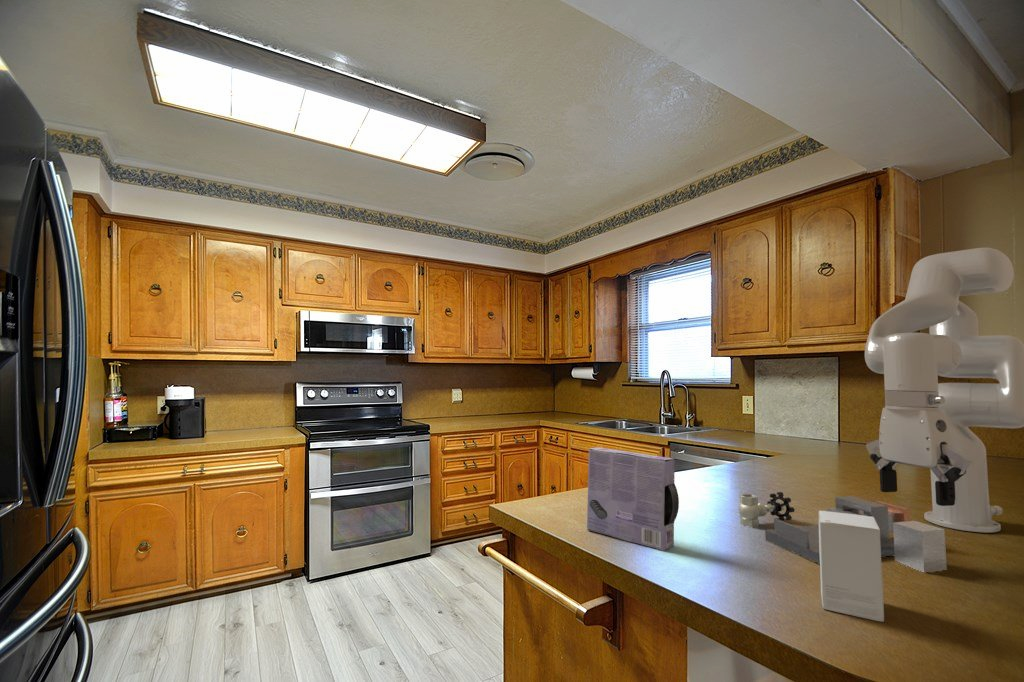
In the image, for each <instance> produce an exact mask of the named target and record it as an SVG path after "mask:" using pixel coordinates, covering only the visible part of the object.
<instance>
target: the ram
mask: <svg viewBox="0 0 1024 682" xmlns="http://www.w3.org/2000/svg"><path fill="white" fill-rule="evenodd" d="M874 502H875V503H879V504H882V505H886V506H888V522H889V534H890V533H894V532H893V523H895V522H906V521H910V511H909V510H910V509H909V508H908V507H907V508H906V507H904V506H903V507H902V506H899V505H895V504H892V503H889V502H886V501H881V500H875V501H874ZM827 511H829V512H838V513H847V514H855V515H863V516H864V511H861V510H853V511H844V510H841V509H837V508H836V507H827Z"/></svg>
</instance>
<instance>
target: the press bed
mask: <svg viewBox="0 0 1024 682" xmlns="http://www.w3.org/2000/svg"><path fill="white" fill-rule="evenodd" d="M835 508H837V509H841V510H844V511H853V510H861V511H864V516H871V517H874V518H875V520H876V522H877V524H878V527H879V529H880V544H881V557H884V556H893V555H895V551H894V538H890V533H889V522H888V506H886V505H882V504H879V503H875V501H871V500H868V499H864V498H860V497H857V496H852V495H843V496H835ZM773 527H774V528H772V529H771V528H770V529H764V530H765V531H764V532H765V533H764V534H765V541H767V540H768V541H767V542H769V541H770V543H771V542H773V543H775V544H777V545H776V546H778V545H779V546H778V547H780V546H781V547H780V548H782V547H783V548H782V549H784V548H786V549H788V550H790V551H793V552H795V553H797V554H799V555H802V556H804V557H806V558H808V559H811V560H813V561H815V562H817V563H820V553H819V524H818V525H806V526H796V525H794V524H791V523H788V522H786V521H785V520H784V521H781V520H779V519H777V518H773ZM773 543H772V544H773ZM775 544H774V545H775ZM786 549H785V550H786ZM788 550H787V551H788ZM790 551H789V552H790ZM793 552H792V553H793ZM795 553H794V554H795ZM797 554H796V555H797ZM799 555H798V556H799ZM806 558H805V559H806ZM808 559H807V560H808Z"/></svg>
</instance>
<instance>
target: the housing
mask: <svg viewBox="0 0 1024 682" xmlns="http://www.w3.org/2000/svg"><path fill="white" fill-rule="evenodd" d="M945 532H946V531H945V528H942V527H938V526H936V525H935V526H934V525H931V524H927V523H924V522H921V521H917V520H909V521H906V522H895V523H893V532H892V533H893V539H894V551H895V556H894V562H895V561H898V562H900V563H902V564H904V565H906V566H905V567H907V566H909V567H911V568H910V569H912V568H913V569H912V570H914V569H916V570H915V571H917V570H919V571H918V572H920V571H921V572H920V573H922V572H924V573H923V574H927V573H926V572H930V573H935V572H934V571H938V572H943V571H942V570H948V569H947V551H946V535H945ZM902 564H901V565H902ZM904 565H903V566H904ZM909 567H908V568H909Z"/></svg>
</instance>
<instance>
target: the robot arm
mask: <svg viewBox="0 0 1024 682" xmlns="http://www.w3.org/2000/svg"><path fill="white" fill-rule="evenodd" d="M1014 272H1015V271H1014V266H1013V263H1012V261H1011V259H1010V257H1008V256H1007V255H1006V254H1005V253H1004V252H1002V251H1000V250H999V249H996V248H992V247H977V248H976V247H975V248H970V249H962V250H955V251H949V252H948V251H947V252H942V253H941V252H940V253H936V254H932V255H928V256H925V257H923V258H921V259H919V260H918V261H916V263H915V264H914V266H913V267H912V270H911V274H910V278H909V282H908V287H907V289H906V291H907V292H906V295H905V299H904V300H902V301H901V302H899V303H897V304H895V305H893V306H892V307H891V308H889V309H888V310H886V311H885V312H884V313H882V314H881V315H880V316H879V317H878V318H876V319H875V320H874V322H873V323H872V324H871V327H870V329H869V332H868V337H867V339H866V343H865V347H864V361H865V363H866V366H867V368H868V369H870V370H871V371H872V372H874V373H875V374H880V375H881V374H882V375H883V380H884V404H885V405H884V406H885V407H882V410H881V415H880V420H879V422H880V423H879V435H878V436H879V437H878V439H875V440H873V441H871V442H868V443H866V445H865V447H866V450H867V452H868V454H869V456H870V457H869V458H870V459H871V460H872V462H873V463H874V464H875V468H876V470H879V485H880V486H879V487H880V488H879V489H880V492H882V493H896V492H898V474H897V470H895V469H894V468H895V467H896V466H897V464H902V465H907V466H913V467H914V466H915V467H918V468H927V469H929V470H930V471H929V472H930V485H931V488H930V489H931V504H932V510H928V511H925V512H924V515H923V516H924V517H923V518H924V519H925V520H926V521H927V522H929V523H931V524H935V525H936V526H941V527H944V528H947V529H952V530H953V529H954V530H958V531H963V532H964V531H966V532H972V533H973V532H974V533H982V534H983V533H986V534H987V533H989V534H990V533H991V534H992V533H998V532H1001V530H1002V527H1001V524H1000V523H999V522H998V521H996V520H993V516H997V515H1002V514H1003V513H1004V509H1003V508H1002V507H1001V506H1000V505H991V504H990V495H989V494H990V493H989V481H988V480H989V479H988V477H989V476H988V465H987V464H988V462H987V460H988V459H987V449H986V446H985V444H984V442H983V441H982V440H981V438H979V437H978V436H977V435H976V434H975V433H974V431H972V430H971V429H970V428H969V427H979V428H980V427H982V428H983V427H984V428H996V429H997V428H999V429H1021V428H1024V343H1023V341H1022V340H1020V339H1019V338H1018V337H1016V336H1013V335H1005V334H999V335H998V334H997V335H996V334H994V335H993V334H991V335H980V334H979V318H978V315H977V314H976V312H975V311H974V310H973V309H971V308H970V307H969V306H968V305H967V304H965V303H963V302H962V301H960V297H963V296H973V295H985V294H996V293H997V294H998V293H1002V292H1005V291H1007V290H1008V289H1009V288H1011V286H1012V283H1013V282H1014V278H1015V277H1014V276H1015V273H1014ZM928 328H929V330H928V331H929V333H926V332H918V331H922V330H925V329H928ZM939 377H943V378H951V379H952V378H954V379H955V378H956V379H994V380H997V381H998V383H983V382H981V383H979V382H978V383H975V382H940V383H939V379H938V378H939Z"/></svg>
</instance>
